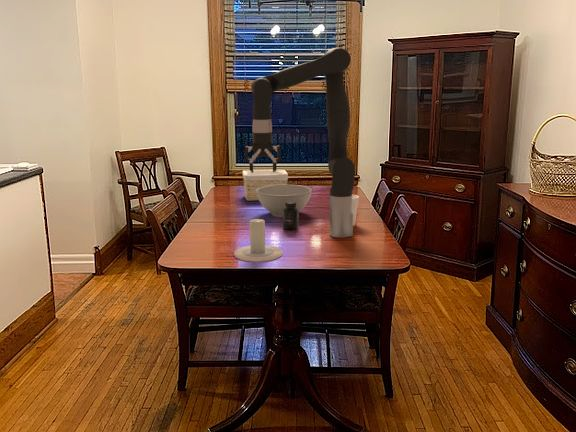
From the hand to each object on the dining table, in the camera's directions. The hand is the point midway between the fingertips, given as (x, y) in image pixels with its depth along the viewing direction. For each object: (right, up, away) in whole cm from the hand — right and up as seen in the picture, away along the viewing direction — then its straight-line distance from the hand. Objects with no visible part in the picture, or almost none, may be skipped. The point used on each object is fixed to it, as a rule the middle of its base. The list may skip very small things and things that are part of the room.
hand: (263, 172), depth 219 cm
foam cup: (+37, -21, +29) cm, 51 cm away
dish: (-1, -32, -11) cm, 34 cm away
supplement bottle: (+11, -23, +23) cm, 35 cm away
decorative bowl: (+8, -17, +49) cm, 53 cm away
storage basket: (-3, -8, +86) cm, 86 cm away
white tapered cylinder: (-2, -31, -11) cm, 33 cm away
